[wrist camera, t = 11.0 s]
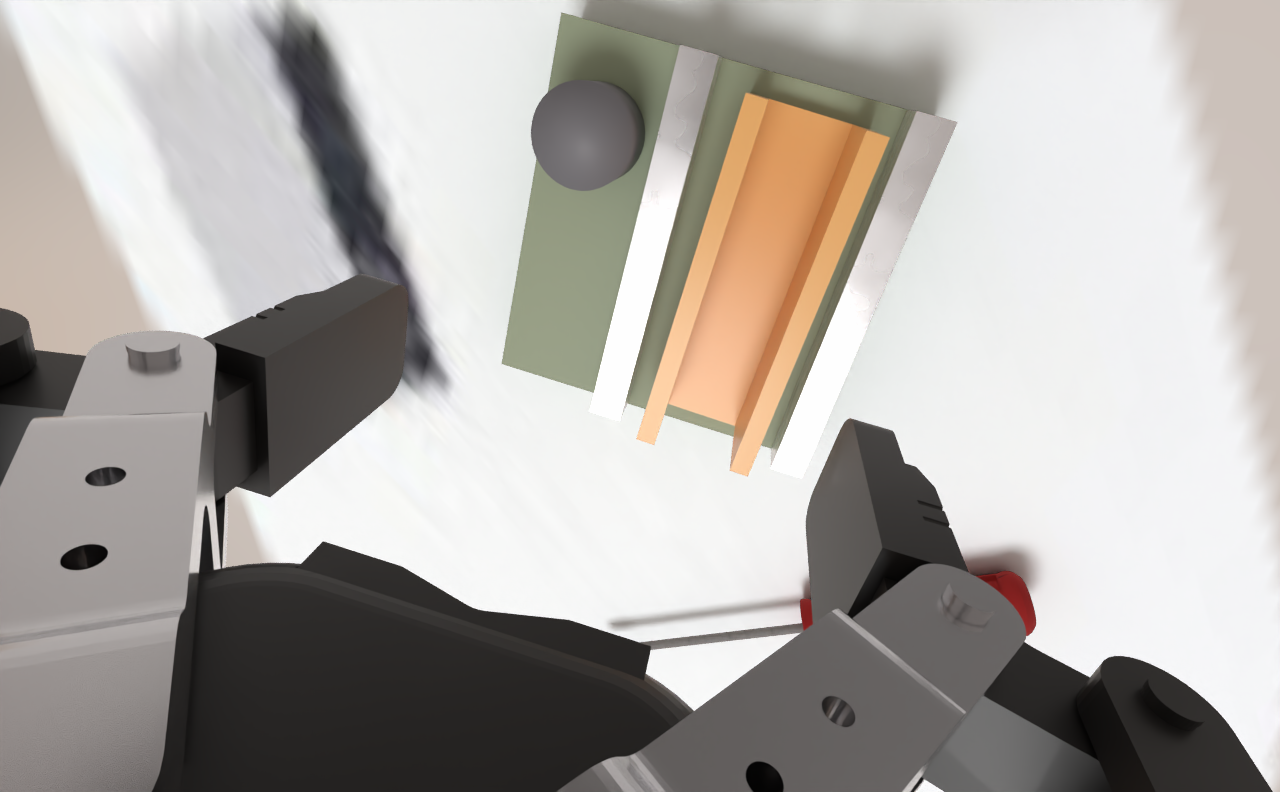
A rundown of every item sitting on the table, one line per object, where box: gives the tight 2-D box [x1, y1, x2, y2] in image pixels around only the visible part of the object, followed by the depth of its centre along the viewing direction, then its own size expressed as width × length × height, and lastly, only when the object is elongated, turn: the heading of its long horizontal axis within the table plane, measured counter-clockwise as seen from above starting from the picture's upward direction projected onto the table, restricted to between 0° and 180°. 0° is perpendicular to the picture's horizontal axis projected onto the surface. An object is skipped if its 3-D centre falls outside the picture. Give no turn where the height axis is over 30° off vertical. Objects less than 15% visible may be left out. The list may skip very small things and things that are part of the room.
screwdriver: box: [640, 571, 1036, 650], centre depth 39 cm, size 4×25×4 cm, turn 109°
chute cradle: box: [590, 44, 957, 478], centre depth 29 cm, size 16×10×2 cm, turn 166°
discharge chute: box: [636, 93, 890, 476], centre depth 27 cm, size 14×5×5 cm, turn 165°
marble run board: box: [502, 13, 907, 448], centre depth 30 cm, size 16×16×6 cm
